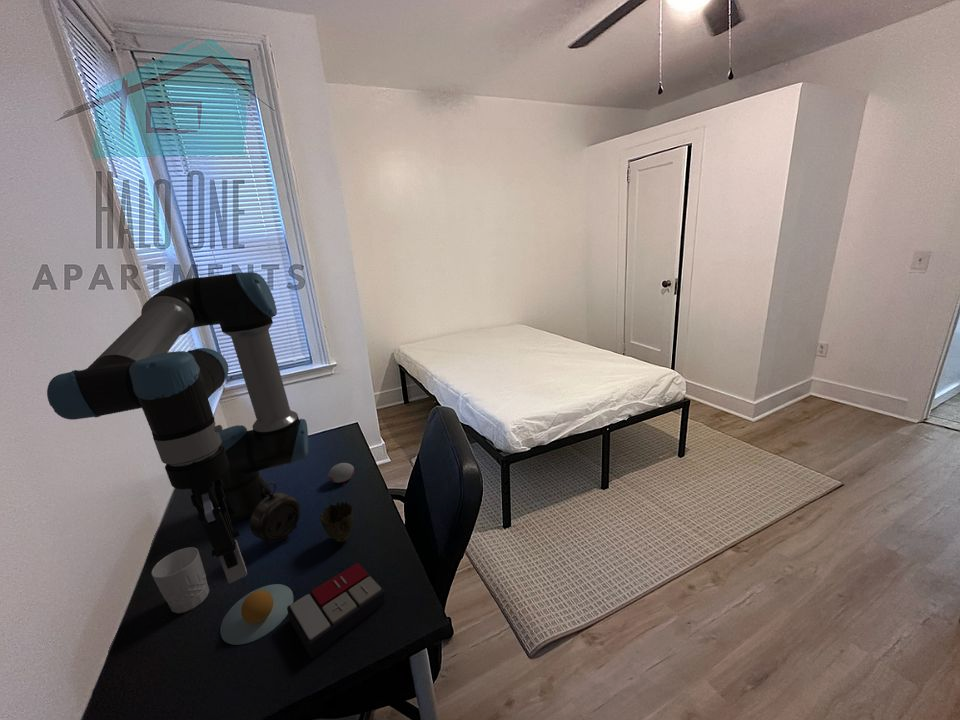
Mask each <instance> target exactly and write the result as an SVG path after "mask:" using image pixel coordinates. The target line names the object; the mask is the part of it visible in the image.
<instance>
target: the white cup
mask: <svg viewBox="0 0 960 720" xmlns="http://www.w3.org/2000/svg"><path fill="white" fill-rule="evenodd" d="M150 575H151V576H152V578H153V580H154V582H155V585H156V586H157V587H158V590H159V593H161V595H162V597H163V599H164V601H166V603H167V605H168V606H169V608H170V610H171V612H172V613H176V614H182V613H186V612H188V611H191V610H194V609H195V608H197V606H199V605H200V604H202V603H203V602H204V601H205V599H206V598H208V596H209V593H210V588H209V585H208V581H207V578H208V577H207V575H206V571H205V568H204V564H203V561H202V558H201V554H200V552H199V549H198V548H196V547H192V546H191V547H184V548H181V549H177V550H176V551H173V552H171V553H169V554H167V555H166V556H164V557H162V559H161V560H159V561H158V562H157V563H156V564H155V565H154V566H153V568H152V570H151V574H150Z"/></svg>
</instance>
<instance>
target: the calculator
mask: <svg viewBox="0 0 960 720" xmlns="http://www.w3.org/2000/svg"><path fill="white" fill-rule="evenodd" d="M386 602H387V596H386V591H385V589H384V588H383V587H382V586H381V584H379V582H378V581H377V580H376V579H375V578H374V577H373V576H372V575H371V574H370V573H369V572H368V571H367V569H365V567H364V566H363V565H362V564H361V563H359V562H357V563H355V564H353V565H351V566H350V567H348V568H347V569H345V570H343V571H342V572H339V574H337V575H335V576H334V577H331V578H330V579H329V580H327V581H325V582H324V583H322V584H320V585H319V586H317V587H315V588H314V589H313V590H311V591H310V592H308V593H307V594H306V595H303V596H302V597H301V598H299V599H297V600H295V601H293V603H292V604H291V605H289V606H288V607H287V610H288V615H287V616H288V618H289V622H290V624H291V626H292V628H293V630H294V631H295V633H296V635H297V636H298V638H299V641H300V642H301V643H302V645H303V647H304V649H305V650H306V653H307V654H308V656H309V659H311V660H312V659H315V658H316V657H318V656H319V655H320V654H321V653H323V652H324V651H325V650H327V649H328V648H329V647H330V646H331V645H333V644H334V643H335V642H336V641H337V640H338V639H339V638H341V637H342V636H343V635H344V634H346V633H347V632H349V631H350V630H351V629H353V628H355V627H356V626H357V625H358V624H360V623H361V622H363V620H365V619H366V618H368V617H369V616H370V615H371V614H373V613H374V612H376V611H377V610H378V609H379V608H381V607H382V606H383V605H384V604H385V603H386Z"/></svg>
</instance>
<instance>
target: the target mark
mask: <svg viewBox="0 0 960 720" xmlns="http://www.w3.org/2000/svg"><path fill="white" fill-rule="evenodd" d="M259 590H264V591H267V592H269V593H270V594H271V596H272V598H273V608H272V611H271V613H270V614H269V615H268V617H267V618H266V619H264V620H263V621H261V622H259V623H255V624H251V623H247V622H246V621H245V620H244V619H243V618H242V615H241V607H242V604H243V602H244V601H245V599H246V598H247V597H248V596H249V595H250V594H252V593H253V592H256V591H259ZM292 603H294V594H293V591H292V590H291V588H290V587H288V586H287V585H285V584H280V583H278V584H277V583H275V584H269V585H265V586H262V587H259V588H257V589H254V590H253V591H251V592H248V594H246V595H244V596H243V597H242V598H240V599H239V600H238V601H236V603H234V604H233V605H232V606H231V608H230V609H228V612H227V613H226V614H225V615H224V617H223V619H222V621H221V624H220V628H219V629H220V630H219V632H220V637H221V639H222V640H223V641H224V642H225V643H227V644H230V645H233V646H239V645H246V644H250V643H252V642H256V641H257V640H259V639H261V638H263V637H265V636H266V635H268V634H270V633H271V632H272V631H273V630H275V629H276V628H277V627H278V626H280V624H282V622H283V621H284V620H285V618H286V617H287V616H289V615H288V610H287V607H288V606H289V605H291V604H292Z"/></svg>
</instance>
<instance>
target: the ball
mask: <svg viewBox="0 0 960 720" xmlns="http://www.w3.org/2000/svg"><path fill="white" fill-rule="evenodd" d="M272 608H273V598H272V596H271V594H270V593H269V592H267V591H264V590H259V591H256V592H253V593H252V594H250V595H249V596H248V597H247V598H246V599H245V601H244V602H243V604H242V607H241V615H242V618H243V619H244V620H245V621H246V622H247V623H251V624H255V623H259V622H261V621H263V620H264V619H266V618H267V617H268V615H269V614H270V613H271V611H272Z"/></svg>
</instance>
